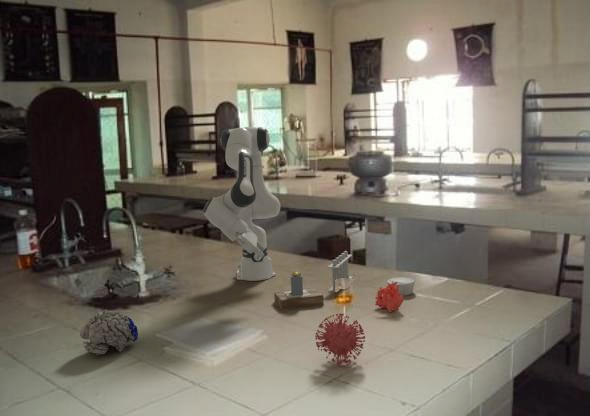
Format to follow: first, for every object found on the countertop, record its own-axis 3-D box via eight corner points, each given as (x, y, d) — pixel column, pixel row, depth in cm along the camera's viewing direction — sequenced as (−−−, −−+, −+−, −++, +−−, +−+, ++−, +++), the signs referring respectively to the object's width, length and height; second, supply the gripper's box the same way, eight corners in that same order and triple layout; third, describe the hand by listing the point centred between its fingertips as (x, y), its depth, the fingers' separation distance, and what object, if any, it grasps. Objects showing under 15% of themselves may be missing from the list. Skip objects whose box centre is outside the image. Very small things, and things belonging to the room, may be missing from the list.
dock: (274, 302, 255) (274, 292, 254) (314, 297, 260) (313, 287, 259) (282, 310, 244) (281, 299, 243) (323, 304, 248) (323, 294, 248)
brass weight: (293, 275, 251) (292, 271, 251) (299, 275, 251) (299, 271, 251) (292, 277, 249) (292, 273, 248) (299, 277, 248) (299, 273, 248)
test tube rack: (344, 277, 290) (343, 249, 288) (353, 278, 288) (352, 249, 286) (328, 292, 266) (327, 261, 265) (338, 292, 265) (337, 262, 263)
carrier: (291, 291, 254) (290, 273, 253) (302, 291, 254) (301, 273, 253) (291, 295, 248) (290, 277, 247) (303, 295, 248) (302, 276, 247)
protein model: (378, 309, 244) (381, 279, 245) (406, 314, 237) (409, 283, 238) (367, 309, 237) (370, 278, 238) (395, 314, 230) (399, 282, 231)
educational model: (138, 364, 210) (151, 320, 214) (95, 357, 194) (109, 309, 198) (109, 356, 218) (122, 313, 221) (65, 348, 201) (79, 302, 205)
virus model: (306, 363, 189) (304, 316, 187) (339, 349, 199) (337, 304, 197) (343, 376, 179) (341, 326, 177) (375, 361, 189) (374, 313, 187)
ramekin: (386, 296, 256) (385, 283, 256) (388, 289, 267) (388, 276, 266) (414, 297, 254) (413, 284, 253) (415, 289, 264) (415, 277, 264)
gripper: (241, 229, 237) (268, 253, 239) (243, 220, 257) (268, 242, 259) (230, 241, 238) (257, 265, 240) (233, 231, 258) (258, 253, 260)
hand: (263, 253), depth 250 cm, fingers open, 8 cm apart
